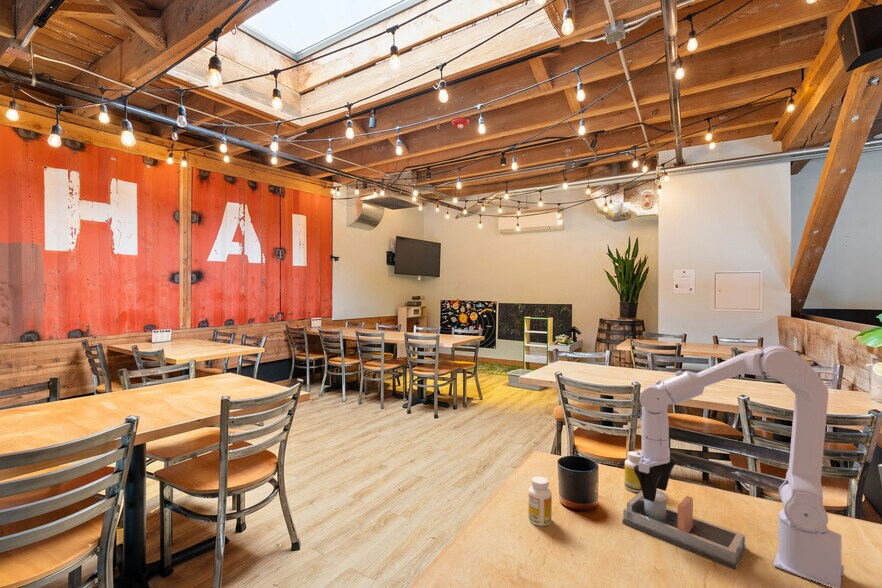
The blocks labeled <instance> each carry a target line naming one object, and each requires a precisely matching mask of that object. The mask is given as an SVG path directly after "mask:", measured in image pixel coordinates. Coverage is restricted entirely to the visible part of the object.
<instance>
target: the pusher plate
mask: <svg viewBox="0 0 882 588" xmlns="http://www.w3.org/2000/svg"><path fill="white" fill-rule="evenodd" d="M693 500H694V498H693V497H691V496H689V495H686V496H685V497H684V498H683V499H682V500H681V502H680V503H679V504H677V511H678V529H681V530H683V531H686V532H688V533H689V532H690V530H691V529H692V528H693V517H694V516H693V515H694V513H693V512H694V506H693V502H694V501H693Z"/></svg>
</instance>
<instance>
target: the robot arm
mask: <svg viewBox="0 0 882 588" xmlns="http://www.w3.org/2000/svg"><path fill="white" fill-rule="evenodd" d="M761 371H763V372H765V374H767V375H768V377H771V378H773V379H774V380H776V381H779V383H780V382H781V383H782V384H784V385H785V386H786V387H788V389H789V390H790V391H792V392H793V393H794V403H793V405H794V406H793V413H792V415H793V416H792V427H791V438H790V451H789V460H788V461H789V463H788V469H787V471H786V473H785V480H784V482H783V483H782V484H781V485H780V486H779V488H778V496H779V499H780V501H781V502H782V505H783V508H782V509H781V510H780V511H779V512H778V515H777V517H778V523H777V524H778V550H777V552H776V555H775V558H774V560H773V566H774V567H776V568H778V569H780V570H783V571H785V572H787V573H791V574H793V575H796V576H799V577H801V578H803V577H804V579H806V578H807V580H809V579H810V580H809V581H811V580H813V581H812V582H814V581H816V582H815V583H817V582H819V583H821V584H820V585H822V584H825V585H828V586H830V587H834V588H841V587H840V586H842V577H844V576H845V566H844V565H843V563H842V562H843V559H842V558H843V552H842V548H843V547H842V546H843V545H842V544H843V542H842V534H840V533H838V532H835V531H833V530H831V529H829V528H828V527H827V526H828V523H829V515H828V512H827V511H826V509H825V507H824V493H823V487H822V470H823V469H822V468H823V458H824V451H825V450H824V448H825V447H824V446H825V438H826V427H827V426H826V424H827V416H828V415H827V414H828V404H829V390H828V387H827V386H826V385H825V383H824V382H823V381H822V379H821V378H820V377H819V375H818V374H817V373H816V371H815V370H814V368H813V367H812V366H811V364H810V363H809V361H808V360H806V359H805V358H803V357H802V356H800V354H798V353H796V352H795V351H793V350H792V349H790V348H789V347H787V346H785V345H783V344H777V343H776V344H775V343H774V344H772V343H771V344H768V345H765V346H763V347H762V348H755V349H752V350H751V349H750V350H749V351H745V352H743V353H740V354H737V355H735V356H733V357H731V358H729V359H726V360H724V361H722V362H719V363H717V364H715V365H713V366H712V365H711V367H708V368H706V369H703V370H702V371H699V372H693V371H689V370H685V371H682V370H678V371H676V372H675V374H674V375H673V376H672V377H669V378H667V379H664V380H660V379H659V380H656V381H655V384H650V385H648V386H646V387H645V388H644V389H643V390H642V392H641V393H640V395H639V401H640V405H641V414H642V415H641V418H640V419H641V420H640V421H641V427H640V428H641V449H638V450H636V451H635V452H636V454H637V455H640V456H641V460H640V462H639V465H636V466H635V467H634V472H635V474H636V475H637V477H638V479H639V482H640V485H641V489H642V493H643V496H644V499H646V500H649V501H652V502H654V500H655V497H656V491H657V490H659V491H664V492H665V491H667V489H668V484H669V481H670V475H671V473H672V470H673V469H674V467H675V465H676V460H675V459H672V458H671V449H670V448H669V447H670V436H669V435H670V434H669V432H670V431H669V430H670V426H669V425H670V421H669V417H668V414H669V413H668V409H669V408H668V407H669V405H671V406H674V405H677V404H680V403H683V402H686V401H688V400H692V399H694V398H697V397H699V396H702V395H703V393H704V390H705V387H708V386H710V385H711V386H712V385H714V384H716V383H720V382H721V381H725V380H728V379H731V378H733V377H737V376H740V375H742V374H743V375H744V374H746V375H753V376H759V377H760V376H762V372H761ZM841 576H842V577H841ZM819 583H818V584H819ZM829 584H830V585H829ZM830 587H829V588H830Z"/></svg>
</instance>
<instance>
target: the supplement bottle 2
mask: <svg viewBox="0 0 882 588" xmlns="http://www.w3.org/2000/svg"><path fill="white" fill-rule="evenodd" d="M636 452H637V451H634V450H633V451H628V452H627V459H625V460H624V477H623V478H624V481H623V482H624V484H623V485H624V488H625V489H626V490H628V491H630V492H633V493H638V492H640V491H642V489H641V485H640V482H639V479H638V477H637V475H636V474H635V472H634V467H635V466H636V465H639V462H640V460H641V456H640V455H637V454H636Z"/></svg>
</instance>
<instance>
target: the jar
mask: <svg viewBox="0 0 882 588" xmlns="http://www.w3.org/2000/svg"><path fill="white" fill-rule="evenodd" d="M667 499H668V495H667V494H666V493H665V492H663V491H662V490H660V489H657V491H656V497H655V500H654V502H652V501H649V500H646V499H644V516H646V517H649V518H652V519H654V520H657V521H660V522H662V523H665V524H666V507H667V501H668V500H667Z"/></svg>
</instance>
